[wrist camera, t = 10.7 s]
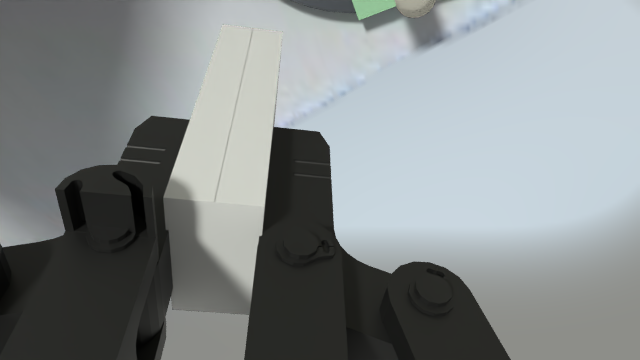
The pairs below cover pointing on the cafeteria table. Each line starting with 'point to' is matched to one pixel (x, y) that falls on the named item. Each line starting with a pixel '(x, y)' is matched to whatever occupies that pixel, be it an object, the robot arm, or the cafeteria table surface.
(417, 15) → the pointer
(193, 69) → the cafeteria table surface
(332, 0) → the dial plate
